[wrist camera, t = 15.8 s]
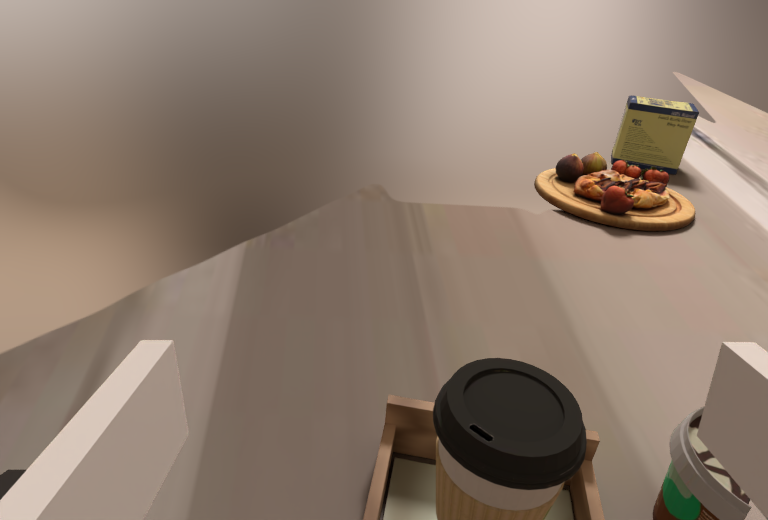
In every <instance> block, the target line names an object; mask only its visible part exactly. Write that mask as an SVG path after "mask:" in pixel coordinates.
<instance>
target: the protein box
mask: <svg viewBox="0 0 768 520" xmlns="http://www.w3.org/2000/svg"><path fill="white" fill-rule="evenodd" d="M698 114H699V112H698V110H697V109H696V107H695V106H694V104H691V103H683V102H675V101H667V100H660V99H652V98H645V97H638V96H629V98H628V101H627V104H626V108H625V111H624V114H623V118H622V120H621V124H620V127H619V131H618V134H617V137H616V140H615V144H614V147H613V150H612V156H611V163H613V164H614V163H615V162H616V161H620V160H626V161H627V162H628V165H630V166H631V165H635V166H636V165H639V166H638V168H641V169H648V170H649V169H650V168H652V166H654V167H656V168H657V171H660V170H664V172H666V173H668V174H674V175H675V174H676V172H677V170H678V167H679V165H680V162H681V159H682V156H683V154H684V151H685V148H686V146H687V143H688V140H689V138H690V135H691V132H692V130H693V127H694V125H695V122H696V119H697V117H698ZM626 161H625V162H626Z"/></svg>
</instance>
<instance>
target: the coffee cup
mask: <svg viewBox="0 0 768 520" xmlns="http://www.w3.org/2000/svg"><path fill="white" fill-rule="evenodd" d="M433 423H434V427H435V431H436V434H437V440H436V515H437V520H544V519H545V518H546V516H547V514H548V513H549V511H550V509H551V507H552V506H553V504H554V502H555V501H556V499H557V497H558V496H559V494H560V492H561V490H562V488H563V486H564V482H565V481H567V480H569V479H570V478H571V477H572V476H573V475H574V474H575V473H576V472H577V471H578V470H579V469H580V467H581V465H582V463H583V461H584V459H585V453H586V447H587V446H586V445H587V439H586V429H585V426H584V424H583V421H582V413H581V410H580V407H579V405H578V403H577V401H576V399H575V398H574V396H573V394H572V393H571V392H570V391H569V390H568V389H567V388H566V387H565V386H564V385H563V384H562V383H561V382H560V381H559V380H557V379H556V378H555V377H553V376H552V375H550V374H549V373H547V372H545V371H543V370H541V369H539V368H537V367H535V366H533V365H530V364H527V363H524V362H520V361H516V360H511V359H502V358H487V359H482V360H476V361H474V362H471V363H468V364H466V365H465V366H463V367H461V368H460V369H459V370H458V371H457V372H456V373H455V374H454V375H453V376H452V378H451V379H450V380H449V381H448V382H447V383H446V384H445V385H444V386H443V387H442V389H441V390H440V392H439V394H438V396H437V398H436V400H435V404H434V408H433Z"/></svg>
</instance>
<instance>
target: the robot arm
mask: <svg viewBox="0 0 768 520" xmlns="http://www.w3.org/2000/svg"><path fill="white" fill-rule="evenodd" d="M188 435H189V431H188V425H187V419H186V413H185V407H184V401H183V395H182V389H181V383H180V377H179V371H178V365H177V359H176V353H175V347H174V341H173V340H141V341H140V342H139V343H138V345H137V346H136V347H135V348H134V349H133V350H132V351H131V352H130V354H129V355H128V356H127V357H126V358H125V359H124V360H123V362H122V363H121V364H120V365H119V366H118V367H117V368H116V369H115V371H114V372H113V373H112V374H111V375H110V376H109V377H108V379H107V380H106V381H105V382H104V383H103V384H102V385H101V386H100V388H99V389H98V390H97V391H96V392H95V393H94V394H93V396H92V397H91V398H90V399H89V400H88V401H87V402H86V403H85V405H84V406H83V407H82V408H81V409H80V410H79V411H78V413H77V414H76V415H75V416H74V417H73V418H72V419H71V420H70V422H69V423H68V424H67V425H66V426H65V427H64V428H63V430H62V431H61V432H60V433H59V434H58V435H57V436H56V437H55V439H54V440H53V441H52V442H51V443H50V444H49V445H48V447H47V448H46V449H45V450H44V451H43V452H42V453H41V454H40V456H39V457H38V458H37V459H36V460H35V461H34V462H33V464H32V465H31V466H30V467H29V468H28V469H27V470H7V471H6V472H4V473H3V474H1V475H0V520H144V518H145V516H146V514H147V512H148V510H149V508H150V506H151V504H152V503H153V501H154V499H155V497H156V495H157V493H158V491H159V489H160V487H161V486H162V484H163V482H164V480H165V478H166V476H167V474H168V472H169V470H170V469H171V467H172V465H173V463H174V461H175V459H176V457H177V455H178V453H179V452H180V450H181V448H182V446H183V444H184V442H185V440H186V438H187V436H188ZM697 437H698V438H699V439H700V440H701V441H702V443H703V444H704V445H705V446H706V447H707V448H708V450H709V451H710V452H711V453H712V454H713V456H714V457H715V458H716V459H717V460H718V462H719V463H720V464H721V465H722V466H723V467H724V469H725V470H726V471H727V472H728V473H729V475H730V476H731V477H732V478H733V479H734V481H735V482H736V483H737V484H738V485H739V486H740V488H741V489H742V490H743V491H744V492H745V494H746V495H747V496H748V497H749V498H750V500H751V501H752V502H753V503H754V504H755V506H756V507H757V508H758V509H759V510H760V511H761V513H762V514H763V515H764V516H765V517H766V519H767V520H768V352H767V351H765V350H764V349H763V348H761V347H760V346H759V345H757V344H756V343H755V342H722V345H721V349H720V353H719V356H718V360H717V364H716V367H715V371H714V374H713V378H712V382H711V385H710V389H709V392H708V396H707V400H706V403H705V407H704V410H703V414H702V418H701V421H700V425H699V429H698V432H697Z"/></svg>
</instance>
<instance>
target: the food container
mask: <svg viewBox="0 0 768 520" xmlns="http://www.w3.org/2000/svg"><path fill="white" fill-rule="evenodd" d="M704 407H705V406H704ZM704 407H701V408H700V409H698V410H696V411H694V412H692V413H690V414H689V415H688V416H687V417H686V418H685V419H684V420H683V421H682V422H681V423H680V424H679V425H678V426H677V427H676V428H675V429H674V431H673V433H672V435H671V438H670V454H671V458H672V461H671V464H670V466H669V469H668V472H667V474H666V477H665V479H664V482H663V485H662V487H661V490H660V493H659V495H658V498H657V500H656V503H655V506H654V510H653V520H744V519H745V517H746V515H747V514H748V512H749V511H750V509H751V506H749V505H748V504H749V501H750V498H749V497H748V496H747V495H746V494H745V492H744V491H743V490H742V489H741V488H740V486H739V485H738V484H737V483H736V482H735V481H734V479H733V478H732V477H731V476H730V475H729V473H728V472H727V471H726V470H725V469H724V467H723V466H722V465H721V464H720V463H719V462H718V460H717V459H716V458H715V457H714V456H713V454H712V453H711V452H710V451H709V450H708V448H707V447H706V446H705V445H704V444H703V443H702V441H701V440H700V439H699V438H698V437H697V432H698V429H699V425H700V421H701V418H702V414H703V410H704Z"/></svg>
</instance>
